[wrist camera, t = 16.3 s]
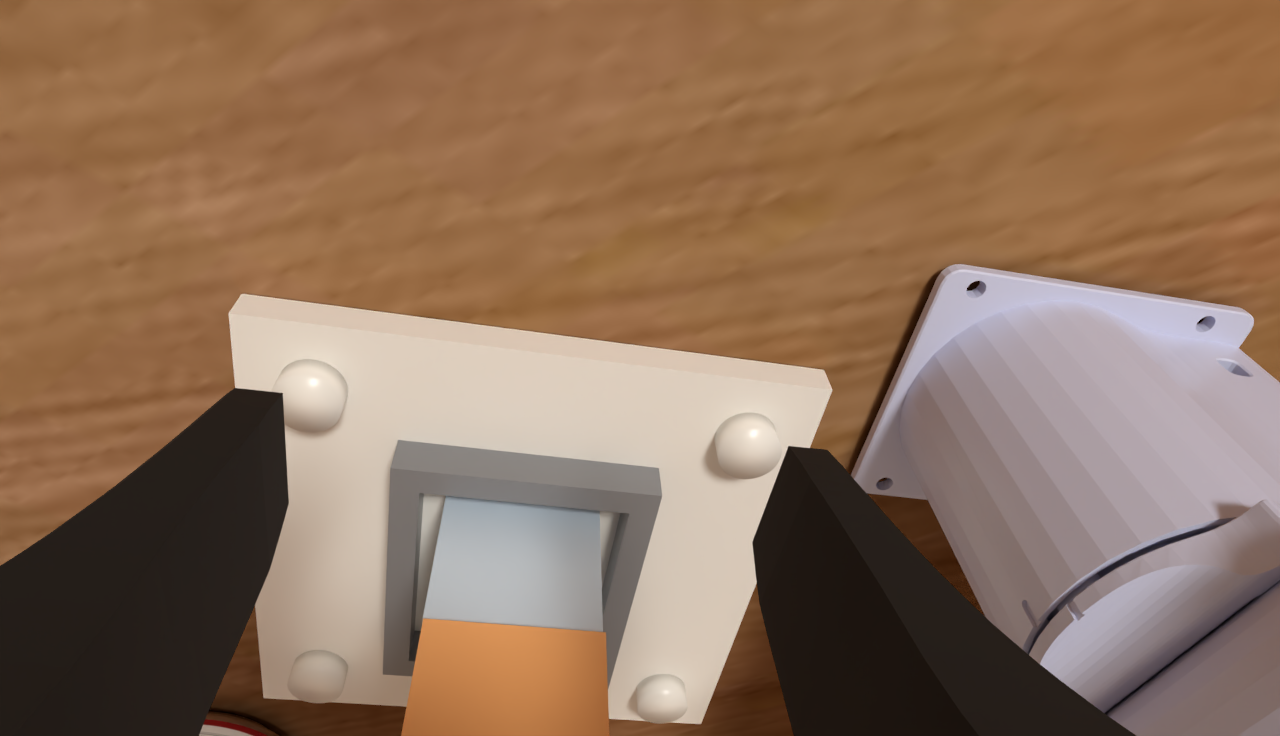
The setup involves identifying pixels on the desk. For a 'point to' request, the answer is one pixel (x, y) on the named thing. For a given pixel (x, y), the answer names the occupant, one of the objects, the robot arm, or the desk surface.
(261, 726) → the soda can
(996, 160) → the desk surface
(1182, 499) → the robot arm
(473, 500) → the light grey block
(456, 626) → the orange brick
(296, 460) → the baseplate
